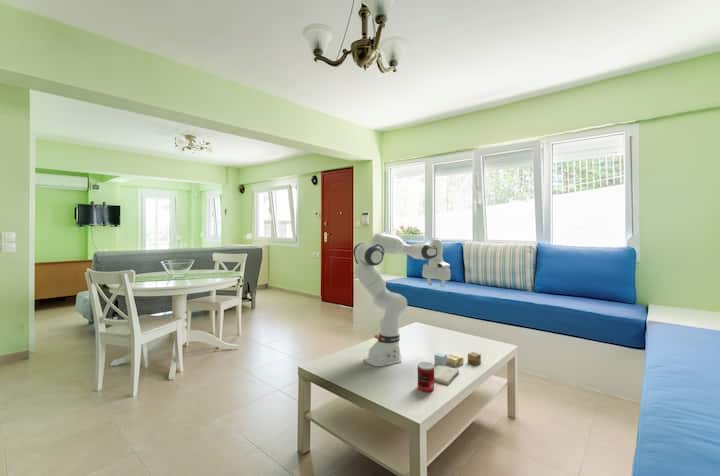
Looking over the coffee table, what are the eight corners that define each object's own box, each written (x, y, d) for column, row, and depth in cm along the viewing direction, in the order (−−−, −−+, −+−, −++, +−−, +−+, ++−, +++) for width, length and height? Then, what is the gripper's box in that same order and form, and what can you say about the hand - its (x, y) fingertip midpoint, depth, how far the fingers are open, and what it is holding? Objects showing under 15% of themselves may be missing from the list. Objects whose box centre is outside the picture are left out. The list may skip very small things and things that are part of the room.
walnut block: (475, 365, 177) (475, 356, 177) (467, 362, 181) (467, 353, 181) (480, 363, 180) (480, 354, 180) (473, 360, 184) (473, 351, 184)
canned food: (431, 384, 154) (431, 361, 154) (436, 392, 146) (436, 368, 146) (416, 384, 154) (416, 362, 154) (419, 392, 146) (419, 368, 146)
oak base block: (455, 367, 175) (455, 360, 175) (445, 363, 180) (445, 356, 180) (463, 364, 179) (463, 357, 179) (453, 360, 184) (453, 353, 184)
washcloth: (460, 373, 168) (460, 367, 167) (448, 387, 153) (448, 380, 153) (438, 368, 174) (438, 362, 174) (425, 380, 159) (425, 374, 159)
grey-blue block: (442, 367, 174) (442, 356, 174) (434, 365, 177) (434, 354, 177) (446, 364, 178) (446, 354, 178) (438, 362, 181) (438, 352, 181)
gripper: (419, 263, 206) (420, 284, 207) (445, 265, 190) (445, 288, 190) (426, 262, 210) (426, 283, 210) (452, 264, 194) (452, 287, 194)
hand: (435, 286), depth 200 cm, fingers open, 8 cm apart
